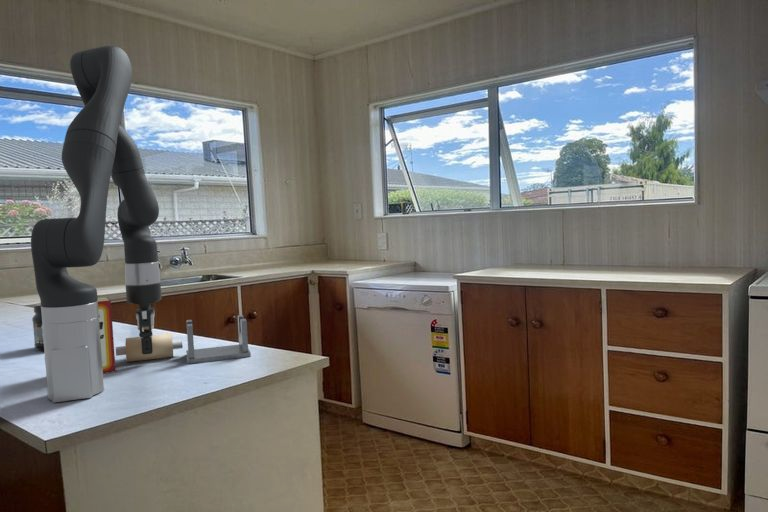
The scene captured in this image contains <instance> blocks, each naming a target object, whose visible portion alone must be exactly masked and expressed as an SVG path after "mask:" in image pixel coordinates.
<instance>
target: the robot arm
mask: <svg viewBox="0 0 768 512" xmlns="http://www.w3.org/2000/svg"><path fill="white" fill-rule="evenodd" d="M69 67H70V68H69V69H70V72H71V76H72V79H73V81H74V84H75V87H76V89H77V91H78V93H79V96H80V99H81V101H82V103H83V105H84V106H83V107H82V109H81V110H80V111H79V112H78V113H77V114H76V115H75V117H74V118H73V119H72V121H71V122H70V123H69V125H68V128H67V130H66V133H65V136H64V141H63V145H62V150H61V162H62V165H63V168H64V170H65V171H66V174H67V176H68V177H69V179H70V180H71V182H72V183H73V185H74V186H75V189H76V190H77V193H78V195H79V197H80V208H79V212H78V213H79V214H78V215H77V217H58V218H44V219H43V218H42V219H40V220H38V221H37V222H36V223H35V224H34V226H33V228H32V231H31V233H30V234H31V236H30V249H31V250H30V251H31V258H32V264H33V271H34V280H35V288H36V290H37V294H38V296H39V299H40V301H39V302H40V303H41V313H42V327H43V340H44V351H43V353H44V363H45V375H46V387H47V388H46V389H47V398H48V400H49V401H52V403H60V402H67V401H68V402H69V401H75V400H82V399H89V398H92V397H93V396H96V395H97V394H100V393H101V392H103V391H104V389H105V387H104V385H105V383H104V373H103V369H102V356H101V342H100V328H99V313H98V298H99V297H98V291H97V288H96V287H95V286H93V285H91V284H88V283H85V282H82V281H79V280H77V279H75V278H73V277H72V276H71V275H70V274H69V273H68V269H67V268H81V267H82V268H83V267H85V268H86V267H92V266H95V265H96V264H98V262H99V261H100V259H101V257H102V254H103V251H104V245H105V237H106V236H105V234H106V219H107V218H106V217H107V208H108V207H107V203H108V197H109V196H108V195H109V190H110V189H109V188H110V183H111V180H112V182H113V184H114V185H115V186H116V187H118V188H119V189H120V191H121V194H122V196H123V200H122V201H120V202H119V205H118V207H117V222H118V227H119V231H120V234H121V239H122V241H123V245H124V247H123V249H124V263H125V265H124V266H125V268H124V280H125V281H124V282H125V294H126V303H128V304H129V305H138V309H136V310H135V317H136V318H135V319H136V320H137V322H136V324H137V330H139V333H138V337H140V338H141V344H142V354H144V355H145V354H151V353H152V352H153V349H152V336H153V335H154V334H153V329H154V327H155V307H152V303H157V302H160V301H161V300H162V298H163V297H162V287H161V286H162V283H161V270H160V266H159V255H158V244H157V241H156V239H155V238H154V237H152V234H151V231H150V226H151V225H153V224H155V222H157V221H158V220H157V219H158V218H159V216H160V215H159V214H160V207H159V203H158V202H159V201H158V200H157V197H156V195H155V192H154V190H153V188H152V186H151V184H150V182H149V181H148V179H147V176H146V173H145V168H144V163H143V161H142V157H141V153H140V151H139V150H140V149H139V148H138V146H137V144H136V142H135V141H134V139H133V138H132V136H131V135H130V134H129V133H128V132H127V130H125V129H124V127H123V126H122V125H121V120H122V116H123V111H124V108H125V105H126V101H127V98H128V95H129V93H130V89H131V85H132V80H133V67H132V63H131V60H130V58H129V56H128V54H127V52H126V51H125V50H123V49H122V48H121V47H119V46H117V45H104V46H98V47H95V48H94V47H93V48H90V49H89V48H88V49H84V50H80V51H77V52H75V53H73V54H72V55H71V57H70V62H69Z"/></svg>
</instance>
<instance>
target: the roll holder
mask: <svg viewBox="0 0 768 512" xmlns="http://www.w3.org/2000/svg"><path fill="white" fill-rule="evenodd" d="M237 329H238V331H237V333H238V344H233V345H232V344H231V345H224V346H223V345H222V346H214V347H205V348H197V349H196V348H195V344H194V341H195V340H194V332H193V331H194V327H193V320H192V319H187V320H186V337H187V339H186V340H187V350H186V361H187V363H186V364H187V365H192V364H199V363H208V362H209V363H210V362H218V361H224V360H226V361H227V360H233V359H241V358H248V357H251V356H252V355H251V354H252V353H251V351H250V349H249V341H248V339H249V338H248V322H247V319H246V318H244V315H243V314H240V315H239V314H238V315H237Z"/></svg>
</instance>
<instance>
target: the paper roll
mask: <svg viewBox="0 0 768 512" xmlns="http://www.w3.org/2000/svg"><path fill="white" fill-rule="evenodd" d="M124 343H125V345H122V346H116V347H115V357H117V356H125V360H126V362H127V363H133V362H142V361H150V360H159V358H160V359H167V358H174V350H179V349H183V340H182V339H181V340H180V339H178V340H174V339H173V333H163V334H155V335H154V334H153V336H152V349H153V352H152V353H151V354H145V355H144V354H142V344H141V338H140V336H134V337H127V338H125V342H124Z"/></svg>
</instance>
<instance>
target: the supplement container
mask: <svg viewBox="0 0 768 512" xmlns="http://www.w3.org/2000/svg"><path fill="white" fill-rule="evenodd" d="M33 313H34V315H33V316H32V319H31V321H32V328H33V329H32V330H33V338H34V339H33V340H34V341H33V342H34V344H33V345H34V348H35V350H37V351H39V352H44V340H43V327H42V313H41V302H39V303H35V304H34V305H33Z"/></svg>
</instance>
